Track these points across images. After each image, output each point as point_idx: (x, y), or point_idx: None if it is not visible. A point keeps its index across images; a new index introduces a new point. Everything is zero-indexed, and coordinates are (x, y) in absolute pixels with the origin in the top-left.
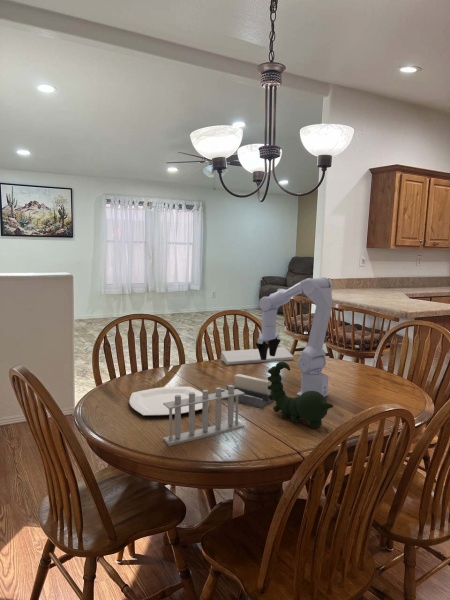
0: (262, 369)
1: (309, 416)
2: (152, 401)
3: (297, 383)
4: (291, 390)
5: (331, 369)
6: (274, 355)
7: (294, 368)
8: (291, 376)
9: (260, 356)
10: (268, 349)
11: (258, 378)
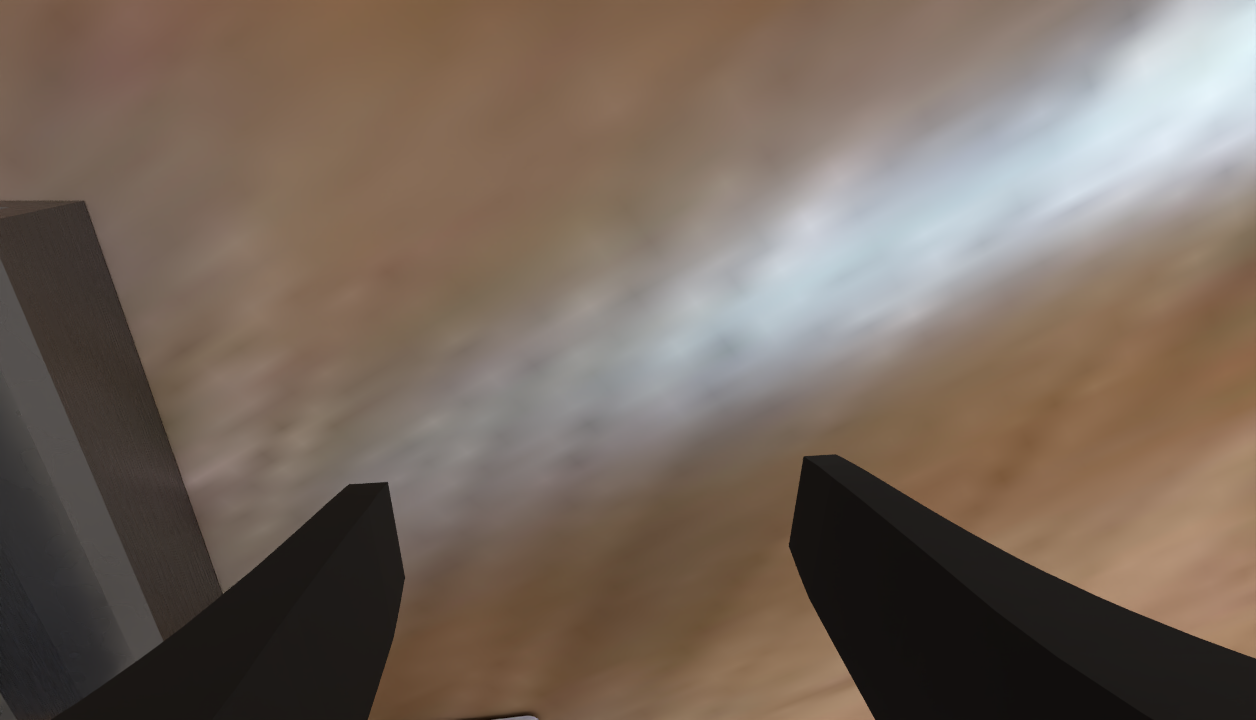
0: (995, 7)
1: None
2: None
3: (664, 598)
4: (437, 654)
5: (1212, 600)
6: (798, 568)
7: (1167, 345)
8: (852, 461)
9: (304, 535)
10: None
11: None
